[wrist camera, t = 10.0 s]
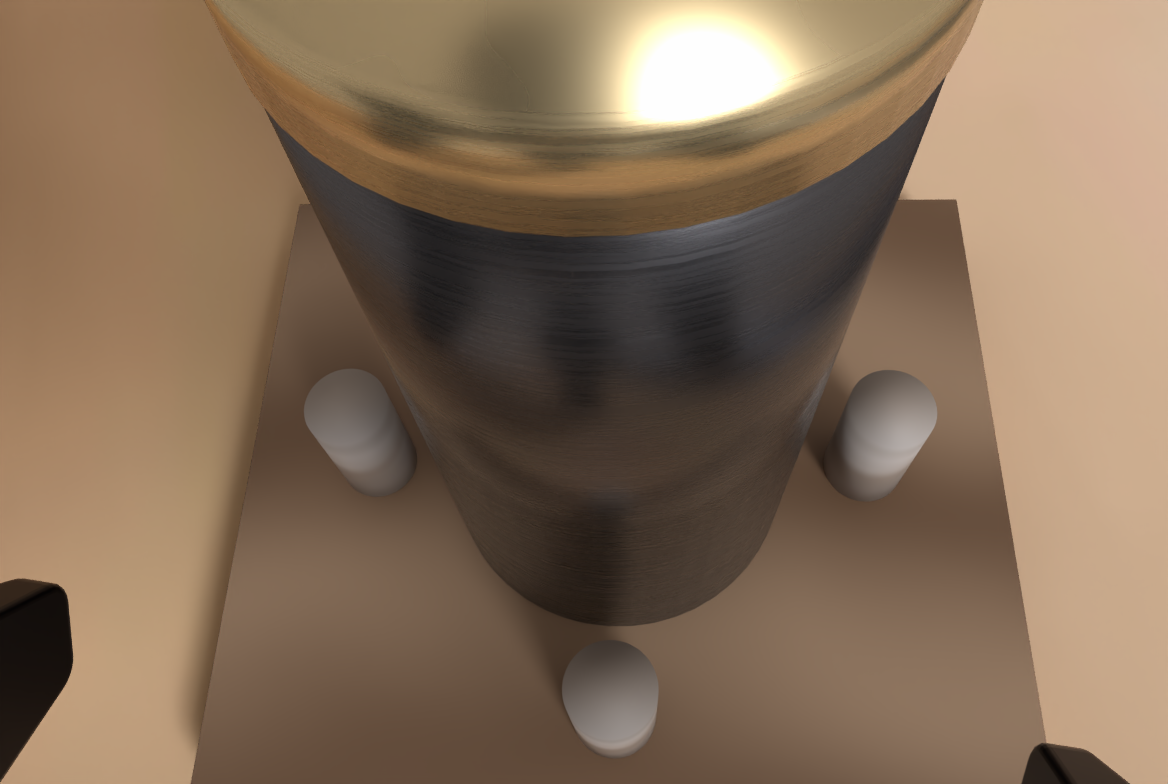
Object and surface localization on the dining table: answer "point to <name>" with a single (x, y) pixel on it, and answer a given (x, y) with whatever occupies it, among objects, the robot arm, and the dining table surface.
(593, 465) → the tea tin
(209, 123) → the dining table surface
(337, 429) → the peg board
